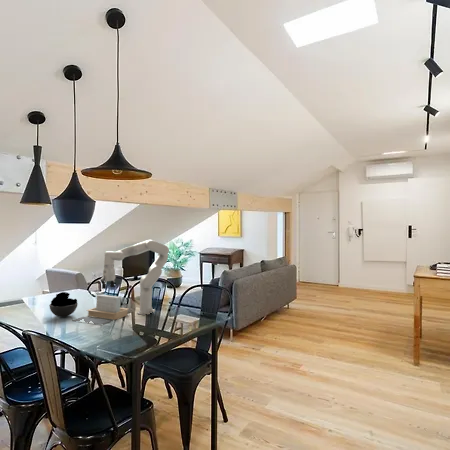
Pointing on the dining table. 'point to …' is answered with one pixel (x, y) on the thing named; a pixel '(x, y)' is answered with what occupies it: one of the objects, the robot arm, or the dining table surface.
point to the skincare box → (108, 303)
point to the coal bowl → (63, 305)
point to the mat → (93, 320)
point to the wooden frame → (108, 313)
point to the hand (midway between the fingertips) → (108, 287)
